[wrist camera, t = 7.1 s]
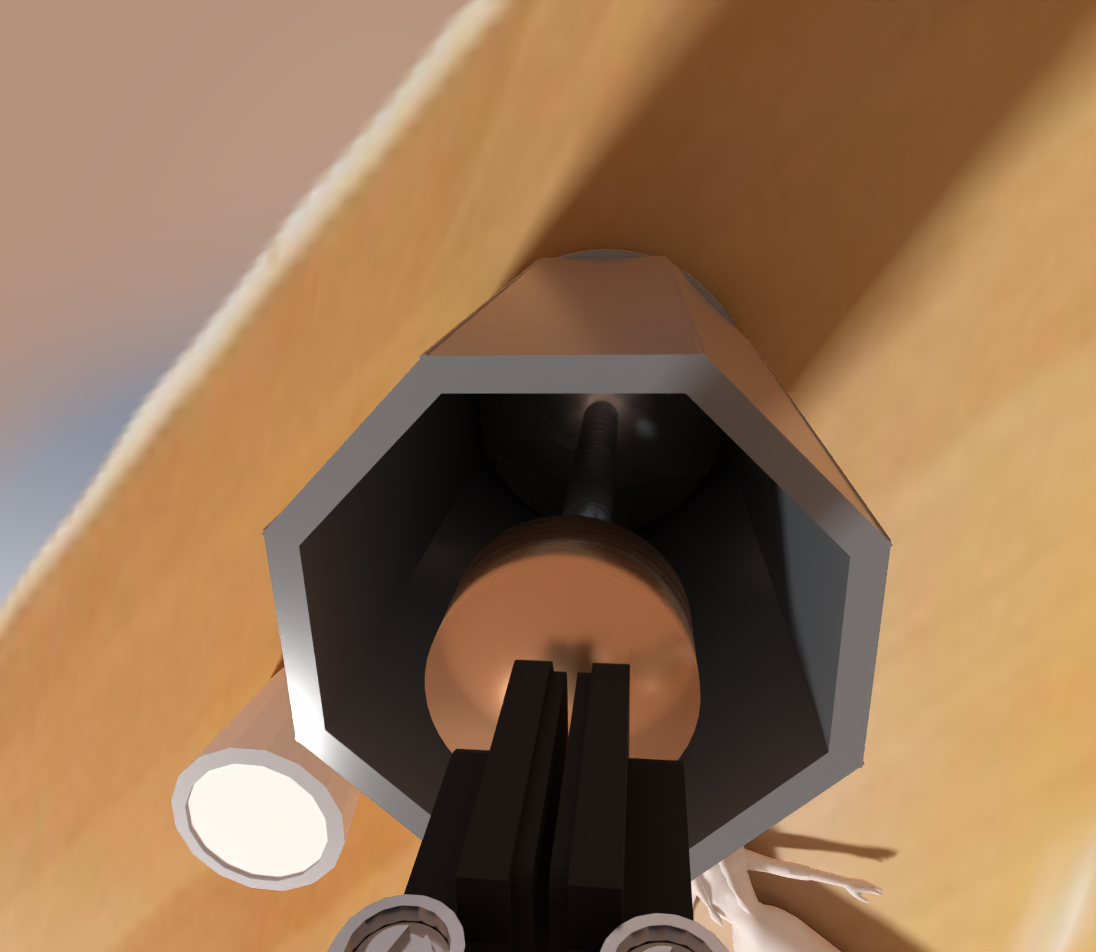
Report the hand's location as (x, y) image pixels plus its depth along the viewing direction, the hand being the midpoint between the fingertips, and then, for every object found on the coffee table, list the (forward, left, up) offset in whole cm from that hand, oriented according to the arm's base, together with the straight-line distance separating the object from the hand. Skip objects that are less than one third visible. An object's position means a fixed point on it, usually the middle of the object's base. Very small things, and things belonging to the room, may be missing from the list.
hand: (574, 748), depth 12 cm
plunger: (0, 0, -18) cm, 18 cm away
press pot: (0, +2, -21) cm, 21 cm away
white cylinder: (+13, +15, -21) cm, 29 cm away
